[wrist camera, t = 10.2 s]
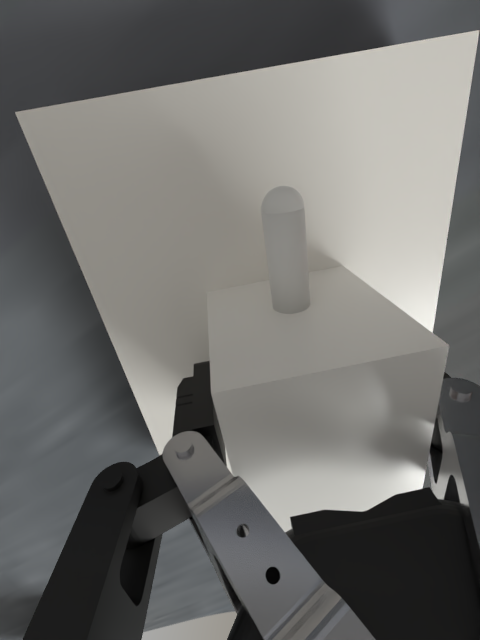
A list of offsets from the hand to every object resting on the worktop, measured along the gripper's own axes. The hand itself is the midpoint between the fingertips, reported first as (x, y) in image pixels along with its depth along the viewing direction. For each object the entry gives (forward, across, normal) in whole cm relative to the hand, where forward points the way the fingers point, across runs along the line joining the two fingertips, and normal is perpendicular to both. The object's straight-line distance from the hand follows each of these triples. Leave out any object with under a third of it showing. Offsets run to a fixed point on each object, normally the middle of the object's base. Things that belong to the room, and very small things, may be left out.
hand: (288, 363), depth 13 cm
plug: (+3, 0, -2) cm, 3 cm away
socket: (+5, 0, 0) cm, 5 cm away
